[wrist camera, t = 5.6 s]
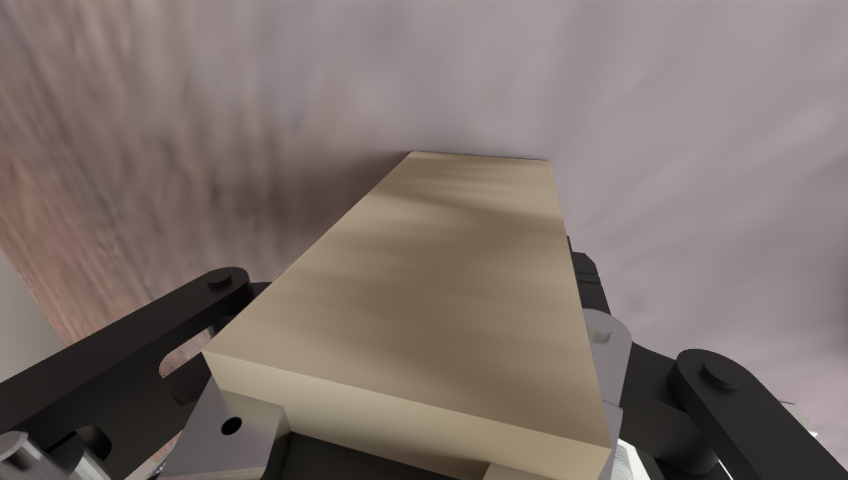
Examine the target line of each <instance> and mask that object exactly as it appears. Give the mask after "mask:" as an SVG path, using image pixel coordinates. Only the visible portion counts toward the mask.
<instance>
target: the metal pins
mask: <svg viewBox="0 0 848 480" xmlns="http://www.w3.org/2000/svg"><path fill="white" fill-rule="evenodd" d="M610 480H634V477H633V473H632V469H631V465H630V461H629V457H628V453H627V450H626V448H625V447H623V446H622V445H619V444H617V448H616V453H615V458H614V463H613V468H612V474H611V479H610Z"/></svg>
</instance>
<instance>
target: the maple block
mask: <svg viewBox="0 0 848 480" xmlns="http://www.w3.org/2000/svg"><path fill="white" fill-rule="evenodd" d="M201 351H202V353H203V356H204V358H205V360H206V362H207V364H208V366H209V368H210V370H211V373H212V375H213V377H214V379H215V381H216V383H217V385H218V387H219V389H222V390H226V391H229V392H233V393H237V394H241V395H244V396H248V397H252V398H255V399H259V400H263V401H267V402H270V403H274V404H278V405H281V406H284V409H285V412H286V415H287V418H288V421H289V424H290V427H291V428H290V431H292V432H296V433H299V434H303V435H306V436H310V437H313V438H317V439H320V440H324V441H327V442H331V443H334V444H338V445H341V446H345V447H348V448H352V449H355V450H359V451H362V452H366V453H369V454H373V455H376V456H380V457H383V458H387V459H390V460H394V461H397V462H401V463H404V464H408V465H411V466H415V467H418V468H422V469H425V470H429V471H432V472H436V473H439V474H443V475H446V476H450V477H453V478H457V479H460V480H483V478H484V476H485V474H486V472H487V470H488V468H489V466H490V464H491V462H493V463H497V464H500V465H504V466H508V467H511V468H515V469H519V470H523V471H526V472H530V473H534V474H537V475H541V476H545V477H549V478H552V479H556V480H597V479H598V477H599V475H600V473H601V471H602V469H603V467H604V465H605V463H606V461H607V459H608V457H609V455H610V453H611V451H612V445H611V440H610V436H609V431H608V426H607V422H606V417H605V413H604V408H603V403H602V399H601V394H600V389H599V385H598V380H597V375H596V371H595V366H594V362H593V357H592V352H591V348H590V343H589V338H588V334H587V329H586V325H585V320H584V315H583V311H582V306H581V301H580V297H579V292H578V287H577V283H576V278H575V274H574V269H573V264H572V260H571V255H570V250H569V246H568V241H567V237H566V232H565V227H564V223H563V218H562V213H561V209H560V204H559V199H558V195H557V190H556V186H555V181H554V176H553V172H552V167H551V162H550V161H541V160H528V159H514V158H501V157H487V156H474V155H460V154H447V153H433V152H420V151H412V152H411V153H410V154H409V155H408V156H407V157H406V158H405V159H404V160H403V161H401V162H400V163H399V164H398V165H397V166H396V167H395V168H394V169H393V170H392V171H391V172H390V173H389V174H388V175H387V176H385V177H384V178H383V179H382V180H381V181H380V182H379V183H378V184H377V185H376V186H375V187H374V188H373V189H372V190H371V191H369V192H368V193H367V194H366V195H365V196H364V197H363V198H362V199H361V200H360V201H359V202H358V203H357V204H356V205H355V206H354V207H352V208H351V209H350V210H349V211H348V212H347V213H346V214H345V215H344V216H343V217H342V218H341V219H340V220H339V221H338V222H336V223H335V224H334V225H333V226H332V227H331V228H330V229H329V230H328V231H327V232H326V233H325V234H324V235H323V236H322V237H320V238H319V239H318V240H317V241H316V242H315V243H314V244H313V245H312V246H311V247H310V248H309V249H308V250H307V251H306V252H304V253H303V254H302V255H301V256H300V257H299V258H298V259H297V260H296V261H295V262H294V263H293V264H292V265H291V266H290V267H288V268H287V269H286V270H285V271H284V272H283V273H282V274H281V275H280V276H279V277H278V278H277V279H276V280H275V281H274V282H273V283H271V284H270V285H269V286H268V287H267V288H266V289H265V290H264V291H263V292H262V293H261V294H260V295H259V296H258V297H257V298H255V299H254V300H253V301H252V302H251V303H250V304H249V305H248V306H247V307H246V308H245V309H244V310H243V311H242V312H241V313H239V314H238V315H237V316H236V317H235V318H234V319H233V320H232V321H231V322H230V323H229V324H228V325H227V326H226V327H225V328H223V329H222V330H221V331H220V332H219V333H218V334H217V335H216V336H215V337H214V338H213V339H212V340H211V341H210V342H209V343H208V344H206V345H205V346H204V347H203V348H202V349H201Z"/></svg>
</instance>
